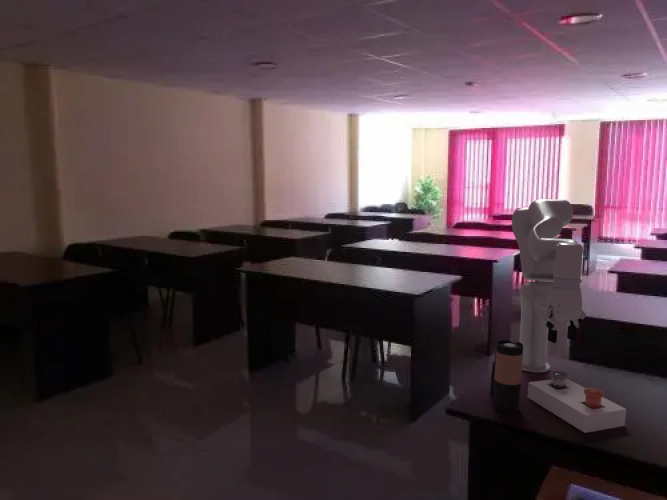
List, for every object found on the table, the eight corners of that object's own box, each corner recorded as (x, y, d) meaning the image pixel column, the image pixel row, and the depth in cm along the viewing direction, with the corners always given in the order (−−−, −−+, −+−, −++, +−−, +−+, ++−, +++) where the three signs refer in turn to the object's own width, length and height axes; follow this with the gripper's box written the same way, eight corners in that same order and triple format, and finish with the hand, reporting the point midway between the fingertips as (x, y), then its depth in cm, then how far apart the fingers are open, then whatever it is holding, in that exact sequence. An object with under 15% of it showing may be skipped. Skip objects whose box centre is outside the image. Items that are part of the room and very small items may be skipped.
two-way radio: (490, 388, 177) (492, 344, 175) (504, 390, 176) (507, 345, 174) (490, 395, 172) (492, 350, 170) (504, 397, 171) (507, 351, 168)
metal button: (545, 385, 169) (546, 371, 168) (558, 383, 171) (559, 369, 170) (557, 391, 164) (558, 377, 163) (570, 389, 166) (572, 375, 165)
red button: (578, 403, 156) (579, 389, 155) (592, 401, 157) (594, 386, 157) (592, 411, 151) (593, 396, 150) (607, 409, 153) (608, 394, 152)
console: (527, 397, 170) (528, 382, 170) (563, 392, 175) (564, 377, 174) (584, 432, 148) (586, 415, 147) (624, 425, 152) (626, 409, 152)
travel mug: (499, 413, 159) (503, 348, 156) (488, 402, 166) (492, 340, 163) (524, 412, 160) (528, 347, 157) (511, 401, 168) (515, 339, 164)
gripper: (580, 279, 169) (575, 334, 171) (534, 282, 163) (530, 339, 166) (598, 284, 162) (593, 342, 164) (551, 287, 156) (546, 347, 159)
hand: (561, 340), depth 165 cm, fingers open, 6 cm apart
